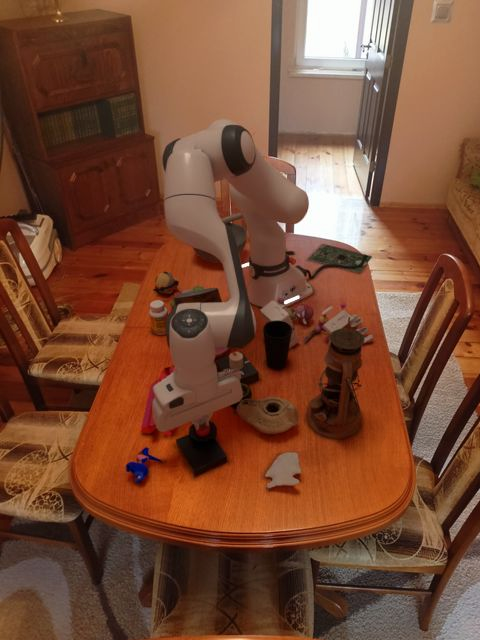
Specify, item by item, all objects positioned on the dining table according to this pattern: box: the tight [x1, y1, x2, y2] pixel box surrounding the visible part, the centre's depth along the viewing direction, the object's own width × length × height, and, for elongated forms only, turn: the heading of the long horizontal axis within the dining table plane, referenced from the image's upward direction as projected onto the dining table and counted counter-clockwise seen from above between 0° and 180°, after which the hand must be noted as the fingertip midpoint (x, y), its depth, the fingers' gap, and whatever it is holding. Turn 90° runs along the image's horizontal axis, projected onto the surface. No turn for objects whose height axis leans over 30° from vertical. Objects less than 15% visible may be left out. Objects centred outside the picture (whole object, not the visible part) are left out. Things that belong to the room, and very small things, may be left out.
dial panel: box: [214, 350, 260, 386], centre depth 130 cm, size 8×10×3 cm
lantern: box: [306, 317, 365, 440], centre depth 109 cm, size 17×13×30 cm
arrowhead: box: [264, 451, 302, 489], centre depth 106 cm, size 8×2×10 cm
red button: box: [195, 424, 210, 437], centre depth 110 cm, size 3×3×2 cm
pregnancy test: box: [320, 305, 354, 335], centre depth 143 cm, size 8×12×1 cm, turn 141°
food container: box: [173, 287, 223, 306], centre depth 140 cm, size 16×16×11 cm
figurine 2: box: [278, 298, 322, 344], centre depth 144 cm, size 11×13×15 cm
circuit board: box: [307, 243, 373, 274], centre depth 180 cm, size 14×20×1 cm
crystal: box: [140, 364, 177, 437], centre depth 121 cm, size 8×6×25 cm
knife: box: [286, 250, 295, 255], centre depth 186 cm, size 14×4×1 cm, turn 30°
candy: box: [318, 301, 347, 347], centre depth 144 cm, size 18×8×6 cm, turn 173°
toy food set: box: [169, 285, 205, 308], centre depth 155 cm, size 13×13×3 cm
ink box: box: [259, 301, 301, 349], centre depth 138 cm, size 9×5×12 cm, turn 32°
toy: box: [152, 270, 180, 295], centre depth 159 cm, size 8×9×15 cm
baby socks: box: [350, 313, 374, 344], centre depth 144 cm, size 12×5×3 cm, turn 16°
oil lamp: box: [235, 396, 299, 435], centre depth 115 cm, size 11×15×8 cm
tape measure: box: [230, 382, 253, 412], centre depth 122 cm, size 7×7×4 cm
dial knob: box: [228, 350, 243, 370], centre depth 128 cm, size 4×4×4 cm
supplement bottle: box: [148, 299, 169, 336], centre depth 143 cm, size 5×5×10 cm
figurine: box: [125, 446, 163, 484], centre depth 106 cm, size 5×8×5 cm, turn 158°
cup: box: [262, 320, 292, 371], centre depth 131 cm, size 8×8×12 cm
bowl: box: [192, 222, 248, 264], centre depth 177 cm, size 20×20×10 cm
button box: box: [175, 420, 228, 478], centre depth 110 cm, size 9×11×4 cm
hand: (201, 426), depth 110 cm, fingers closed, pressing on red button
